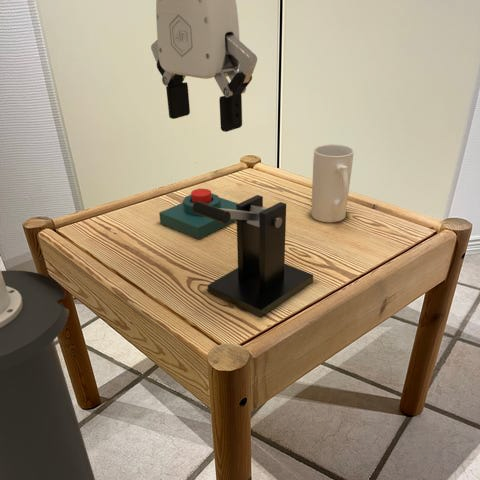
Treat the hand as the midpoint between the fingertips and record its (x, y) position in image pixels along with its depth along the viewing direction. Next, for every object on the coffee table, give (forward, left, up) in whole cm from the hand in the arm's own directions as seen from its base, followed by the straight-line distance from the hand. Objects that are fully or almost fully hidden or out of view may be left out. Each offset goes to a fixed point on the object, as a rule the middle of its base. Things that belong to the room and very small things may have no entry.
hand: (204, 122), depth 66 cm
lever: (-4, -8, -10) cm, 14 cm away
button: (+12, +15, -18) cm, 26 cm away
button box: (+12, +15, -22) cm, 29 cm away
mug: (+27, -3, -22) cm, 35 cm away
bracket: (+1, -8, -22) cm, 24 cm away
